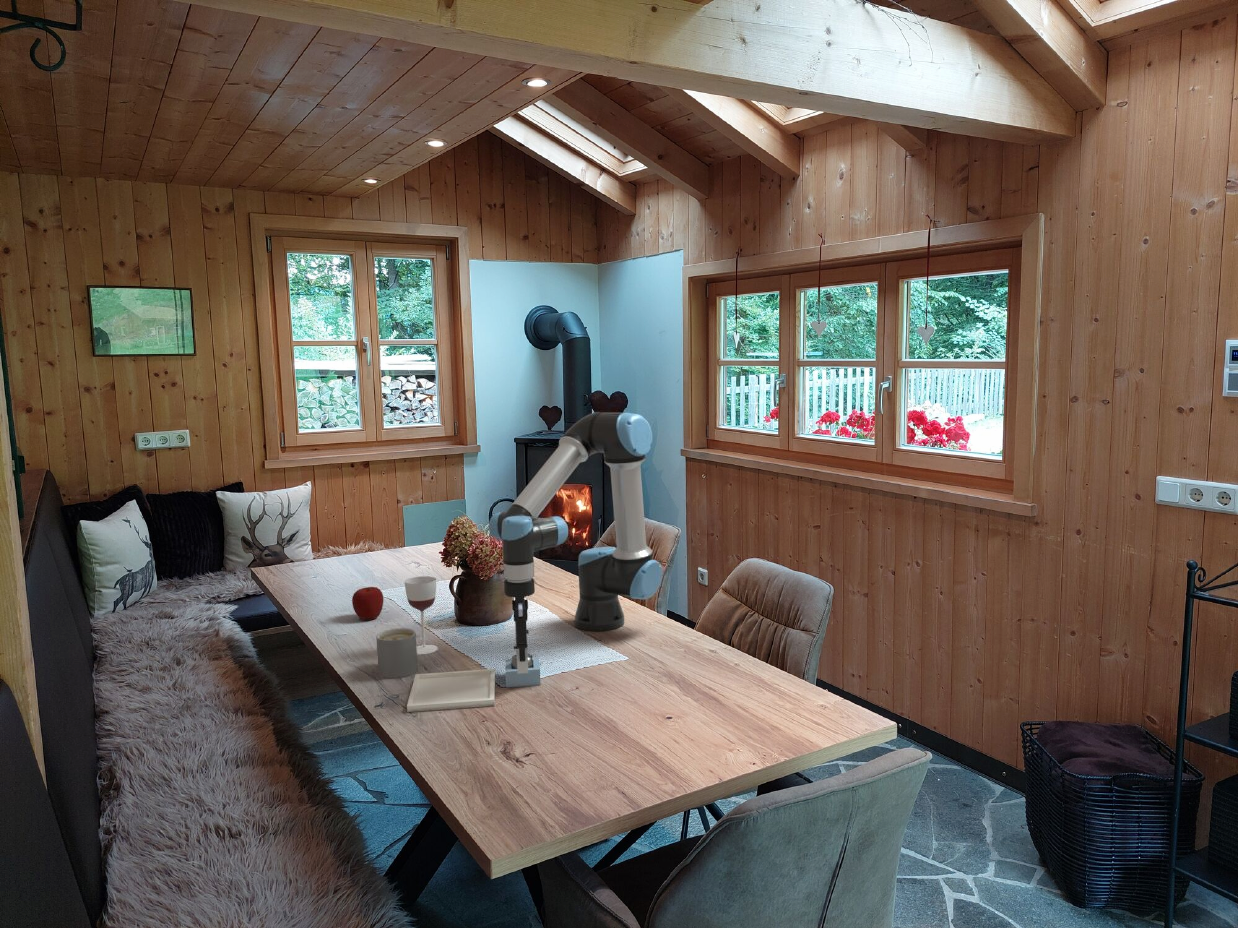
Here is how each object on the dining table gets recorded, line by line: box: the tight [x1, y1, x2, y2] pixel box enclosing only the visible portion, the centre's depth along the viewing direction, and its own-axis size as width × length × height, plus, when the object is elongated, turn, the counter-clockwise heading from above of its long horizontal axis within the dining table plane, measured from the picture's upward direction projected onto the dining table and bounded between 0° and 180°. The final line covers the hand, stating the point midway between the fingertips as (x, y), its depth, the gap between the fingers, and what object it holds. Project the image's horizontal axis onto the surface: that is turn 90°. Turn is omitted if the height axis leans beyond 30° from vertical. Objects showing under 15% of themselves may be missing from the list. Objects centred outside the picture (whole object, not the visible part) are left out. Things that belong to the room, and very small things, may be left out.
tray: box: [406, 668, 496, 713], centre depth 209 cm, size 20×20×2 cm
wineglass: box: [404, 575, 439, 655], centre depth 239 cm, size 8×9×20 cm
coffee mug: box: [375, 627, 418, 679], centre depth 226 cm, size 13×10×10 cm
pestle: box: [511, 619, 533, 669], centre depth 216 cm, size 5×5×16 cm
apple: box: [351, 586, 384, 621], centre depth 270 cm, size 10×10×10 cm
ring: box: [504, 656, 542, 688], centre depth 216 cm, size 8×8×4 cm
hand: (522, 666), depth 216 cm, fingers closed on ring, 8 cm apart
